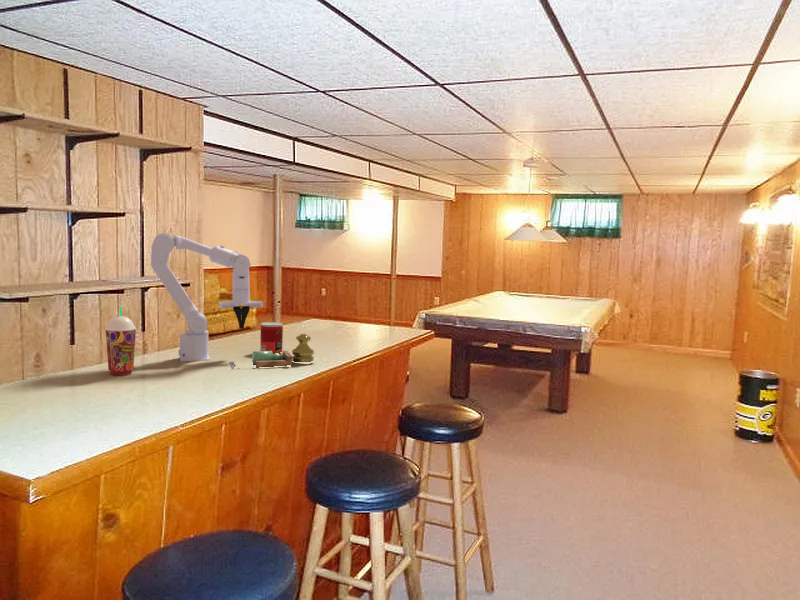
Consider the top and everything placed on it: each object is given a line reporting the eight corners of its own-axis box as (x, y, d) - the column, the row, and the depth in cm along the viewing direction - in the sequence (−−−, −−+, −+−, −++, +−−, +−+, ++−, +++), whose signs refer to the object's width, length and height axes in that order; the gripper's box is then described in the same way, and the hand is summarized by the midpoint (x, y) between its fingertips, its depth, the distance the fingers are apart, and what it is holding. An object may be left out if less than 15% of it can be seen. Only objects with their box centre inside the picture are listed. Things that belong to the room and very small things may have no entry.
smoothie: (124, 377, 175) (124, 309, 173) (99, 375, 177) (98, 307, 175) (142, 371, 183) (142, 306, 181) (117, 369, 185) (117, 304, 183)
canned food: (279, 355, 217) (280, 325, 216) (257, 354, 217) (258, 324, 216) (284, 352, 225) (285, 322, 224) (263, 351, 225) (263, 321, 224)
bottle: (254, 351, 196) (283, 350, 200) (252, 351, 200) (280, 350, 204) (254, 365, 196) (283, 364, 200) (252, 364, 200) (280, 363, 204)
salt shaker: (316, 361, 209) (316, 333, 208) (310, 365, 202) (311, 336, 201) (295, 360, 210) (295, 332, 209) (289, 364, 202) (289, 335, 202)
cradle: (232, 370, 190) (232, 358, 190) (229, 362, 201) (229, 351, 201) (292, 368, 197) (292, 356, 196) (286, 361, 208) (286, 350, 208)
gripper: (219, 290, 202) (220, 330, 203) (264, 289, 207) (264, 329, 208) (218, 288, 208) (219, 327, 210) (261, 288, 213) (261, 326, 215)
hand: (241, 328), depth 209 cm, fingers closed
